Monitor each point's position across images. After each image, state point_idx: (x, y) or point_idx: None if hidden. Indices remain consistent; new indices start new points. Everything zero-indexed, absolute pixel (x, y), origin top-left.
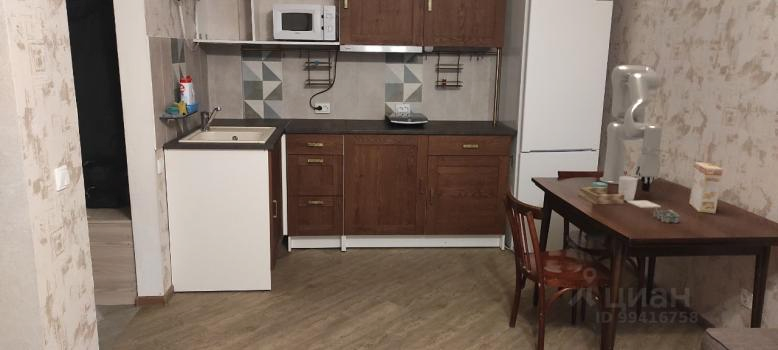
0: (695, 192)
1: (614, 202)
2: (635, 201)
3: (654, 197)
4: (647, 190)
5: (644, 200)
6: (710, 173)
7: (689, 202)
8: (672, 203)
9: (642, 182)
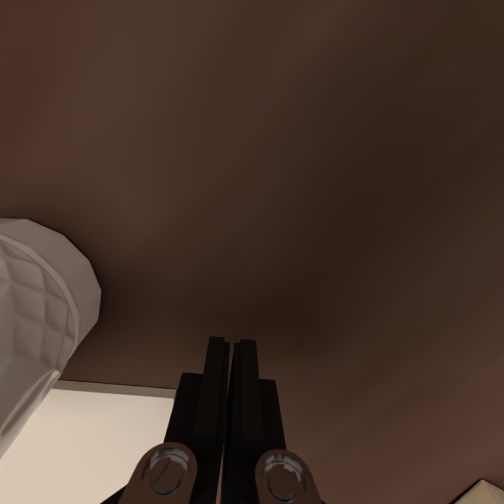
0: None
1: None
2: (39, 410)
3: (386, 293)
4: (226, 416)
5: (152, 400)
6: None
7: (484, 489)
8: (356, 458)
9: (156, 463)
